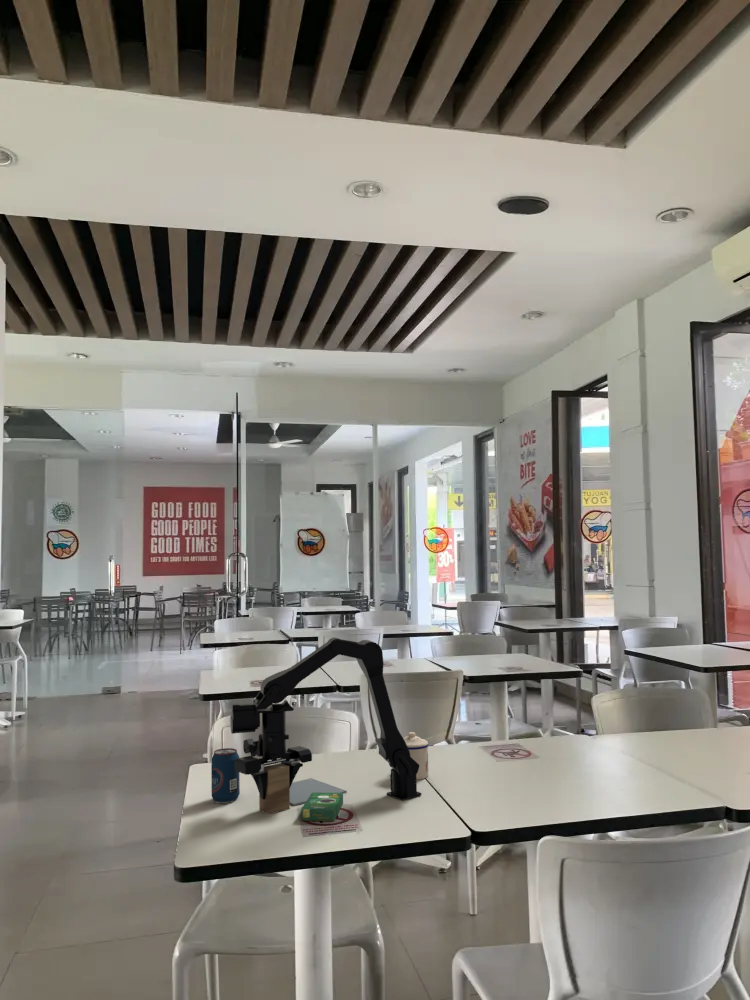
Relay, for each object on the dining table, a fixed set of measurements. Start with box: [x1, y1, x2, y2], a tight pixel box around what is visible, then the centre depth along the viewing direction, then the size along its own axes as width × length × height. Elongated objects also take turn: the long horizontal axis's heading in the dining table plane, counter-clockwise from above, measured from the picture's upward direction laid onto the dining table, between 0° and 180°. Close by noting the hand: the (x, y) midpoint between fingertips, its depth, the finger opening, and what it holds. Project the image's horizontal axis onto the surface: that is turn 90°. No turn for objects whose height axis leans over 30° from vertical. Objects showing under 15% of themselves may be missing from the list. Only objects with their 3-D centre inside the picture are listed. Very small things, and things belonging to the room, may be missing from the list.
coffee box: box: [300, 793, 344, 822], centre depth 184 cm, size 8×3×13 cm
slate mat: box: [289, 777, 348, 807], centre depth 200 cm, size 16×16×1 cm
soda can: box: [210, 747, 241, 804], centre depth 195 cm, size 7×7×12 cm
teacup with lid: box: [403, 731, 429, 781], centre depth 215 cm, size 12×9×12 cm
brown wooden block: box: [258, 762, 291, 815], centre depth 187 cm, size 4×6×10 cm, turn 129°
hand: (274, 796), depth 187 cm, fingers closed on brown wooden block, 6 cm apart
